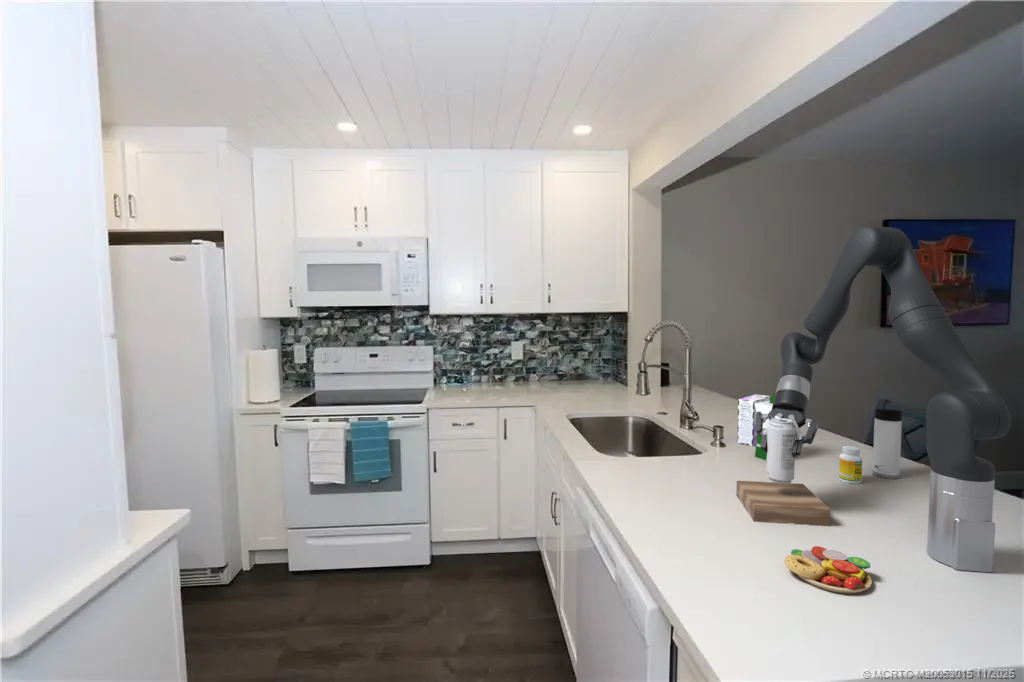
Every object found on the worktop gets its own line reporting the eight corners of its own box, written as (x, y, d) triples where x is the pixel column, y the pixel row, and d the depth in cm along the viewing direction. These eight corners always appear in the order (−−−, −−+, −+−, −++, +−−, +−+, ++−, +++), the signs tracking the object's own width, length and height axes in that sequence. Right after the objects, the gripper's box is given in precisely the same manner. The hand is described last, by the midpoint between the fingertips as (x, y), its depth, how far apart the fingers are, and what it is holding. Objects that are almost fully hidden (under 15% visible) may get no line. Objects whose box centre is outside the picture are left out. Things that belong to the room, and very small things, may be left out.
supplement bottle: (844, 476, 144) (845, 443, 143) (865, 481, 140) (866, 448, 139) (835, 480, 141) (836, 447, 141) (856, 485, 137) (857, 451, 136)
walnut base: (829, 526, 113) (830, 509, 112) (753, 521, 116) (754, 504, 115) (802, 498, 128) (802, 483, 128) (736, 495, 131) (736, 480, 131)
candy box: (754, 436, 188) (754, 393, 187) (770, 439, 184) (771, 395, 182) (736, 443, 179) (737, 398, 178) (752, 446, 175) (753, 400, 174)
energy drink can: (778, 474, 126) (780, 416, 124) (799, 482, 120) (801, 421, 119) (760, 477, 123) (762, 418, 122) (781, 486, 118) (783, 424, 117)
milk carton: (793, 459, 160) (794, 398, 158) (773, 463, 156) (775, 401, 155) (768, 452, 168) (770, 394, 166) (749, 456, 164) (751, 396, 163)
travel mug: (874, 477, 143) (877, 409, 141) (870, 470, 148) (873, 404, 147) (901, 481, 140) (905, 411, 138) (896, 473, 146) (899, 406, 144)
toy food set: (777, 576, 93) (777, 560, 93) (799, 551, 102) (799, 536, 102) (863, 606, 83) (863, 588, 83) (878, 575, 93) (879, 559, 92)
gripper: (758, 385, 130) (744, 439, 122) (822, 391, 121) (811, 450, 113) (763, 401, 135) (750, 455, 127) (825, 408, 125) (815, 467, 117)
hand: (779, 452), depth 120 cm, fingers closed on energy drink can, 6 cm apart
